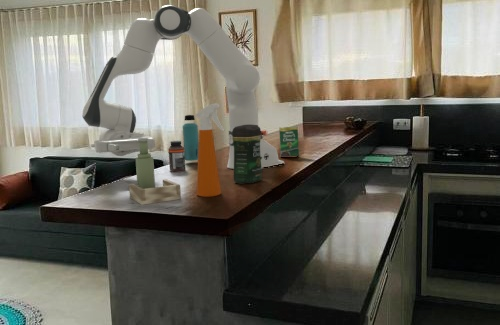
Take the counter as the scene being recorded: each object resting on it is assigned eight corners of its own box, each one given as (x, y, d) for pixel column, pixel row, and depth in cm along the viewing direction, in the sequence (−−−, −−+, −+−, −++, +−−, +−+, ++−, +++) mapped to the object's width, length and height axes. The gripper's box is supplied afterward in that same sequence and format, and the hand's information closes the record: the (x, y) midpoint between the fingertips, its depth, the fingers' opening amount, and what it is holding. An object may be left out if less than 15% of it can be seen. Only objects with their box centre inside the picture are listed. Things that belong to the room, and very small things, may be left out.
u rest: (167, 192, 149) (166, 179, 148) (180, 198, 139) (180, 184, 139) (130, 197, 143) (128, 184, 143) (141, 204, 134) (140, 190, 133)
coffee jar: (251, 185, 155) (248, 126, 152) (230, 183, 159) (227, 125, 156) (266, 179, 163) (264, 123, 160) (246, 178, 167) (243, 123, 164)
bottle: (152, 187, 158) (148, 137, 156) (157, 189, 153) (154, 138, 151) (135, 189, 155) (131, 138, 153) (140, 192, 151) (137, 139, 148)
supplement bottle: (169, 170, 190) (167, 140, 188) (184, 168, 191) (183, 139, 189) (170, 172, 184) (168, 142, 183) (186, 171, 185) (184, 141, 184)
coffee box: (280, 158, 209) (279, 127, 207) (280, 157, 212) (279, 126, 210) (299, 157, 208) (298, 126, 206) (298, 156, 211) (298, 126, 209)
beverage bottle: (197, 164, 202) (194, 115, 199) (182, 164, 203) (179, 115, 200) (202, 161, 208) (199, 114, 205) (187, 161, 209) (184, 114, 206)
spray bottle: (218, 199, 136) (213, 103, 132) (191, 195, 143) (186, 104, 139) (235, 194, 142) (231, 102, 138) (209, 190, 149) (204, 102, 145)
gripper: (89, 136, 169) (98, 139, 157) (146, 132, 179) (159, 135, 167) (90, 154, 170) (99, 158, 158) (147, 149, 180) (160, 153, 168)
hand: (131, 146), depth 163 cm, fingers open, 8 cm apart
